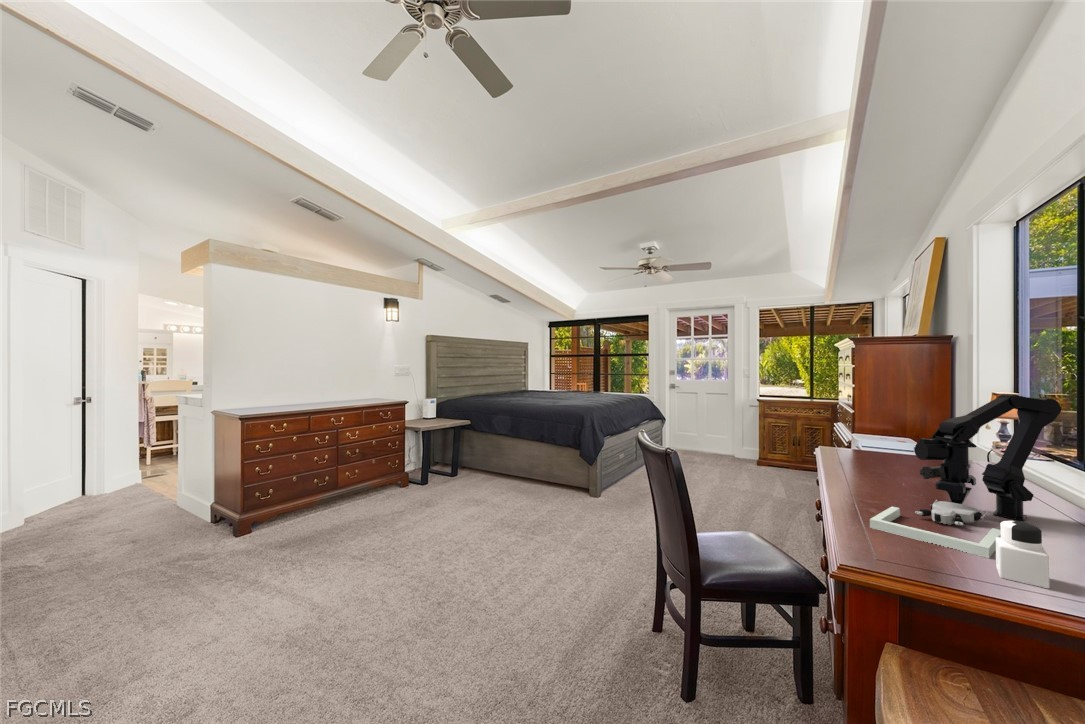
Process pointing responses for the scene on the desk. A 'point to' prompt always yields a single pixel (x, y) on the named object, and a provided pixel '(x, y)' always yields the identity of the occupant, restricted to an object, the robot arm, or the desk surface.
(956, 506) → the robot toy
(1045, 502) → the desk surface
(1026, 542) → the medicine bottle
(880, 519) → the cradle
